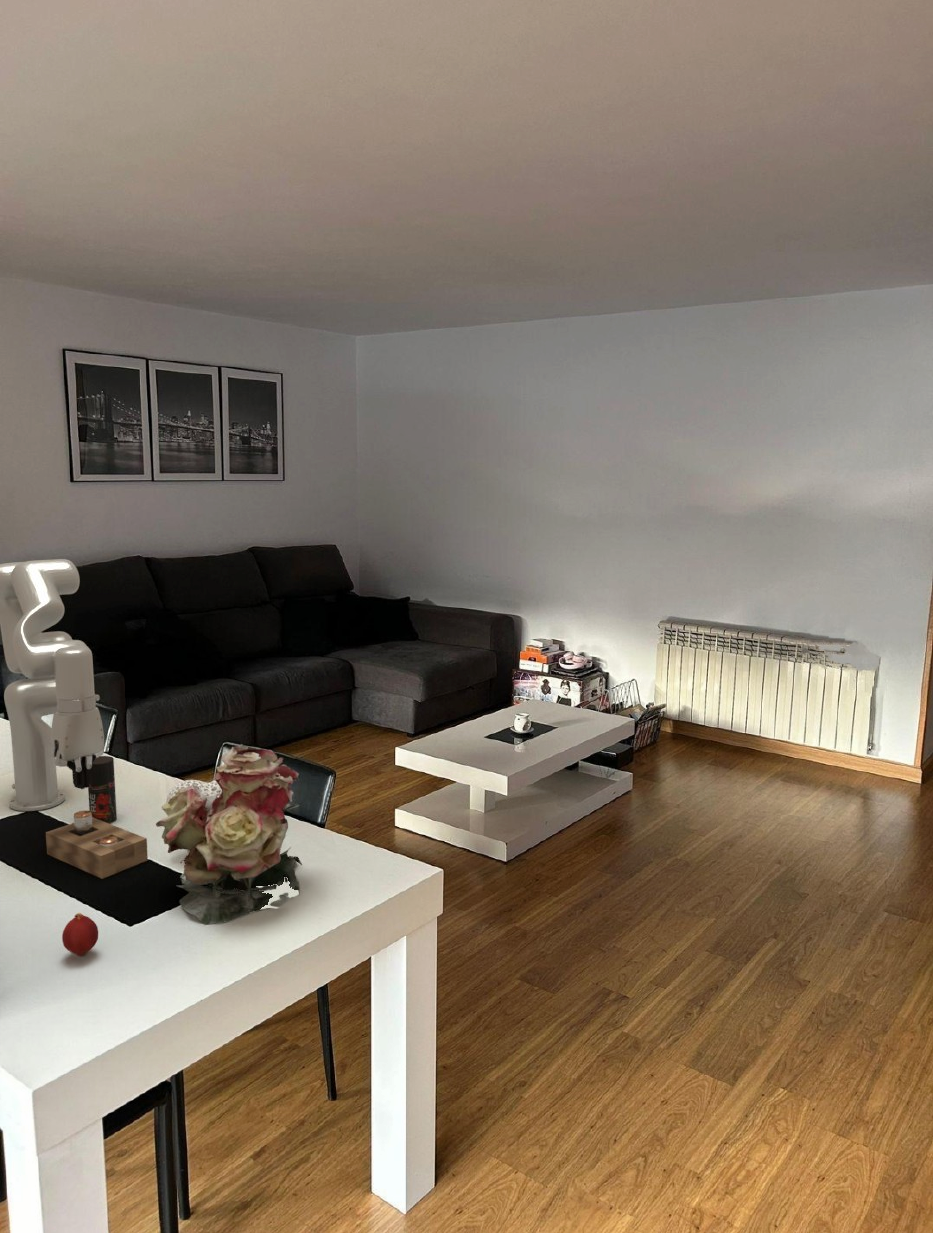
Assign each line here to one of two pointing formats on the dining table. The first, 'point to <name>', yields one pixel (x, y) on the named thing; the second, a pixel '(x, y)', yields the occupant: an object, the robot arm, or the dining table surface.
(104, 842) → the plunger
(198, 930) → the dining table surface
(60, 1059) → the dining table surface
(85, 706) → the robot arm
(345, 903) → the dining table surface
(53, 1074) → the dining table surface
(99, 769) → the deodorant
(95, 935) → the onion
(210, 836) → the rose bouquet
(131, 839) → the socket block
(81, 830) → the plunger
